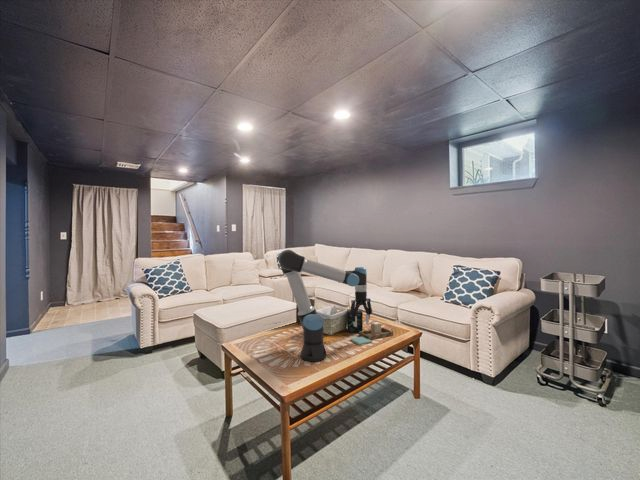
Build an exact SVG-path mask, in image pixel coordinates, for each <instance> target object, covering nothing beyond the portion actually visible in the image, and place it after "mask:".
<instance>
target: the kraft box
mask: <svg viewBox="0 0 640 480" xmlns="http://www.w3.org/2000/svg"><path fill="white" fill-rule="evenodd" d="M381 328H382V323H380V322H377V321H375V322H370V330H371V335H376V334H381Z"/></svg>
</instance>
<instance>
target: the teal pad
mask: <svg viewBox="0 0 640 480" xmlns="http://www.w3.org/2000/svg"><path fill="white" fill-rule="evenodd" d="M350 341H351V342H353V343H355V344H356V345H358V346H362V345H367V344H371V343H373V340H369V339H367V338H365V337H363V336H362V337H361V336H358V337H353V338H350Z"/></svg>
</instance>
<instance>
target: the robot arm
mask: <svg viewBox="0 0 640 480" xmlns="http://www.w3.org/2000/svg"><path fill="white" fill-rule="evenodd" d="M277 259H278V260H277V262H278V264H279V266H280V268H281V271H282V274H283V275H285V277H286V278H287V281H288V284H289V287H290V290H291V292H292V295H293V298H294V300H295V304H296V305H297V307H298V309H299V312H298V317H299V320H300V323H301V325H300V326H301V328H302V331H303V344H302V348H301V350H300V358H301V359H302V360H304V361H306V362H307V361H308V362H320V361H323V360H325V359H326V358H327V350H326V347H325V344H324V333H323V318H322V317H321V316H320V315H317V313H316V310H317V309H316V307H315V306H314V307H313V306H311V303H310V300H309V299H310V297H309V295H308V292H307V288H306V286H305V284H304V280H303V277H302V274H301V273H302V272H303V273H306V274H309V275H314V276H316V277H320V278H324V279H327V280H330V281H334V282H338V283H341V284H344V285H347V286H350V287H354V290H355V292H354V297H355V299H354V300H352V299H351V300H350V302H351V306H350V309H351V310H350V315H351V316H352V317H353V322H354V326H355V327H357V317H356V314H357V311H358V309H360V307H361V306H363V309H364V311H365V312H366V313H365V325H367V326H369V325H370V317H371V316H370V315H371V314H373V309H372V308H373V307H372V304H371V301H372V300H371V298H368V297H367V296H368V294H367V293H368V291H367V289H368V288H367V268H366V267H364V266H357V267H355V268H354V270H344V269H340V268H338V267H337V268H336V267H334V266H329V265H326V264H324V263H320V262H316V261H315V260H310V259H307V258H306V256H303V255H300V254H298V253H296V252H295V251H293V250H291V249H285V250H283V251H282V250H281V252H280V253H279V255H278V258H277Z"/></svg>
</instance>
